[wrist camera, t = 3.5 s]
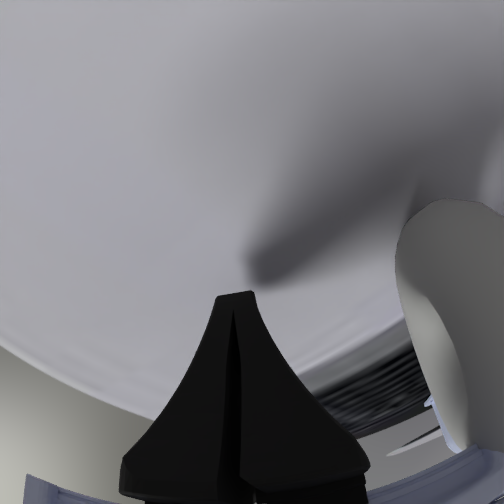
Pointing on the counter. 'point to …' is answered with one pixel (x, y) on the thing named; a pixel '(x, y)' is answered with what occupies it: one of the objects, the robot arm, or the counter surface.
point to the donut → (457, 314)
